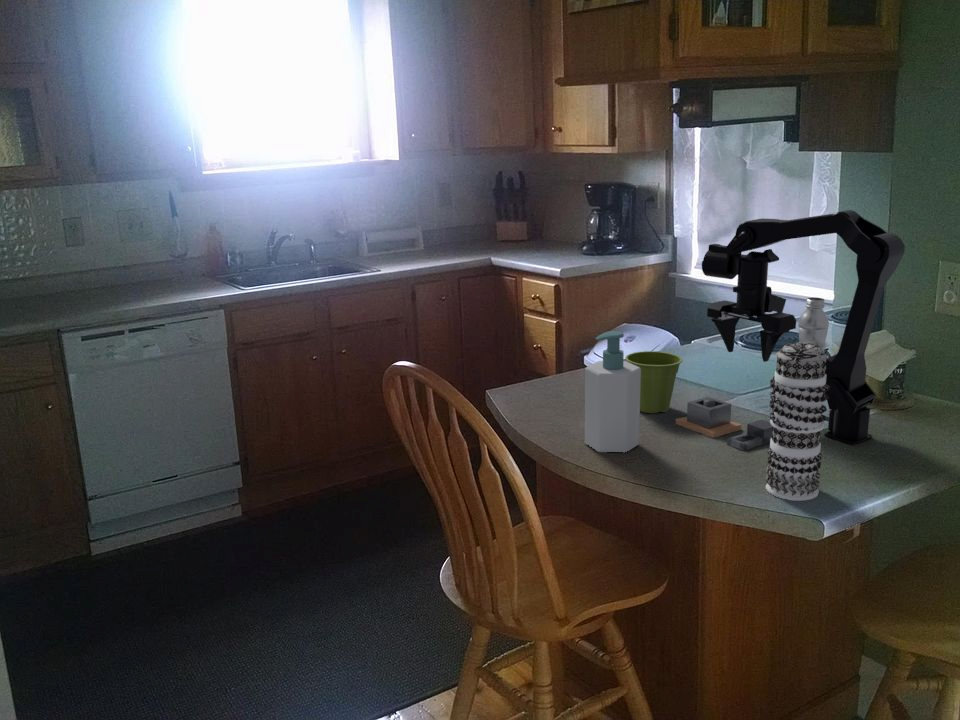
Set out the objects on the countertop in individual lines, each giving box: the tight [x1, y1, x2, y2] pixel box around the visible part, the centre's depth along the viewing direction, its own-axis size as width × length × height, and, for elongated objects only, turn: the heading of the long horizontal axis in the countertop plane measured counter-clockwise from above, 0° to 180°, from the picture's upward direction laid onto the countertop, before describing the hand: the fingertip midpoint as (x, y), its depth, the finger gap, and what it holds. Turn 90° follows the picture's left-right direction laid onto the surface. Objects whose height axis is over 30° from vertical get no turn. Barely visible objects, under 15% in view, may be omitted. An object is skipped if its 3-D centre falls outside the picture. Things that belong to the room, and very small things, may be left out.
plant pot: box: [625, 350, 683, 414], centre depth 194 cm, size 12×12×11 cm
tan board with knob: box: [675, 399, 742, 439], centre depth 183 cm, size 10×8×6 cm
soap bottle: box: [584, 330, 641, 454], centre depth 172 cm, size 10×9×22 cm
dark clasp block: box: [726, 419, 773, 452], centre depth 174 cm, size 4×10×3 cm, turn 123°
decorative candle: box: [765, 341, 830, 502], centre depth 150 cm, size 9×9×25 cm
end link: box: [686, 396, 732, 429], centre depth 183 cm, size 6×6×4 cm
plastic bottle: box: [797, 296, 830, 353], centre depth 206 cm, size 6×7×20 cm
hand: (747, 356), depth 189 cm, fingers open, 9 cm apart
